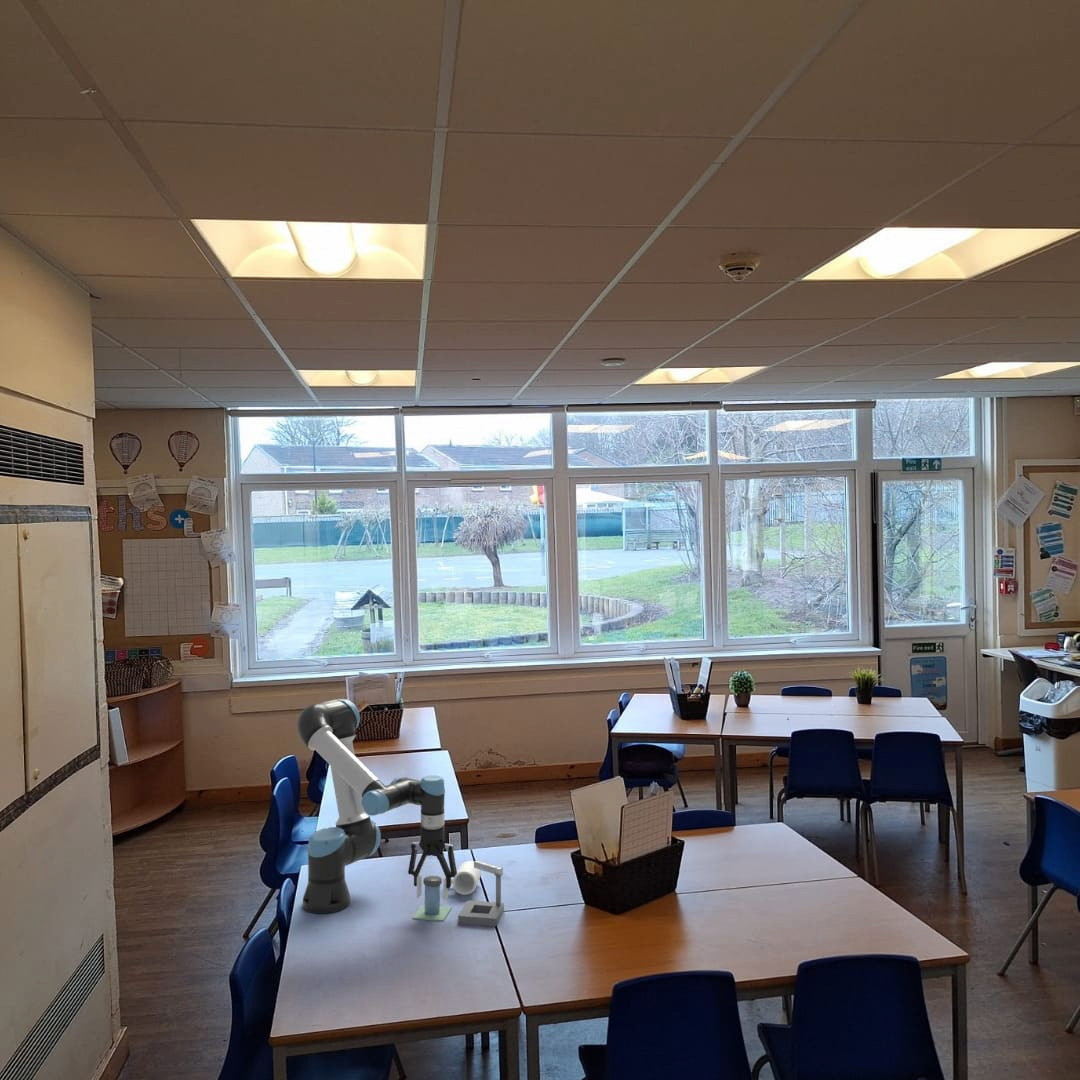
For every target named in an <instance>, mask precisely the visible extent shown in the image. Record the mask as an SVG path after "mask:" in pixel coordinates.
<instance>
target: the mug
mask: <svg viewBox="0 0 1080 1080" xmlns="http://www.w3.org/2000/svg"><path fill="white" fill-rule="evenodd" d="M481 874H482V870H480V869H476V868H474V861H471V860H470V861H469V860H468V861H464V862H462V863H461V864H460V865H459V867H458V868H457V874H456V875H455V877H452V878H451V884H452V887H453V889H454V890H455V892H456V893H458V894H460V895H462V896H468V895H471V894H472V893H473V892H474V891H475V890H476V887H477V885H478V884H479V880H480V878H481ZM444 878H445V874H444V875H443V879H444Z"/></svg>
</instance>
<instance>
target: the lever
mask: <svg viewBox="0 0 1080 1080" xmlns="http://www.w3.org/2000/svg"><path fill="white" fill-rule="evenodd" d="M473 862H474V868H476V869H480V870H481V871H483V872H487V873H489V874H493V875H494V876H495V877H496V876H501V877H502V876H503V875H504V867H503V866H496V865H493V864H490V863H486V862H482V861H480V860H475V861H473Z"/></svg>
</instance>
